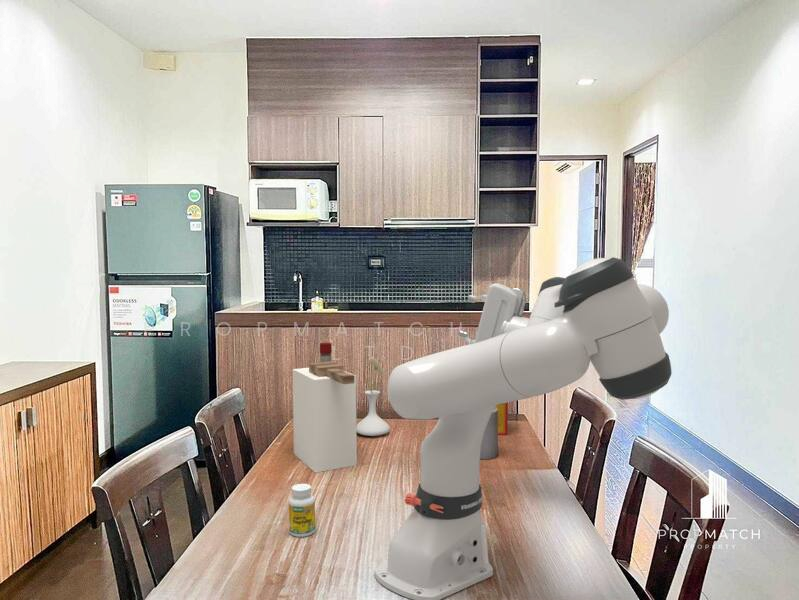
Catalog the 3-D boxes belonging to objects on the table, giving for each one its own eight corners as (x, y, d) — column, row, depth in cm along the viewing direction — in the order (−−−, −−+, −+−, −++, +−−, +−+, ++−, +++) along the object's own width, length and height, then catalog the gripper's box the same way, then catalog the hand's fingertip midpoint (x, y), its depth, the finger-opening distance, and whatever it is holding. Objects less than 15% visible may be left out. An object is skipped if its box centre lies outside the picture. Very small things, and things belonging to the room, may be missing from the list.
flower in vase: (389, 438, 190) (389, 360, 188) (353, 438, 190) (352, 360, 188) (390, 427, 203) (390, 354, 201) (356, 427, 203) (356, 354, 201)
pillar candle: (478, 447, 181) (477, 398, 180) (504, 454, 174) (504, 403, 173) (457, 455, 174) (457, 404, 173) (484, 462, 167) (484, 410, 166)
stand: (356, 465, 165) (355, 375, 164) (315, 472, 160) (314, 379, 158) (332, 447, 181) (331, 365, 180) (293, 453, 176) (292, 369, 174)
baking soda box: (482, 427, 203) (483, 380, 202) (502, 427, 203) (502, 380, 202) (487, 435, 193) (487, 386, 192) (507, 435, 193) (507, 386, 192)
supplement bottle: (314, 525, 128) (313, 481, 128) (316, 536, 123) (315, 490, 122) (288, 527, 127) (287, 483, 126) (289, 539, 122) (289, 492, 121)
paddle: (361, 382, 155) (361, 372, 154) (336, 385, 151) (336, 375, 151) (332, 370, 172) (332, 361, 172) (309, 372, 169) (308, 363, 169)
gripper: (525, 293, 137) (469, 276, 142) (502, 376, 141) (449, 356, 147) (532, 290, 142) (478, 274, 148) (510, 370, 147) (459, 351, 153)
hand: (464, 315), depth 148 cm, fingers open, 8 cm apart
